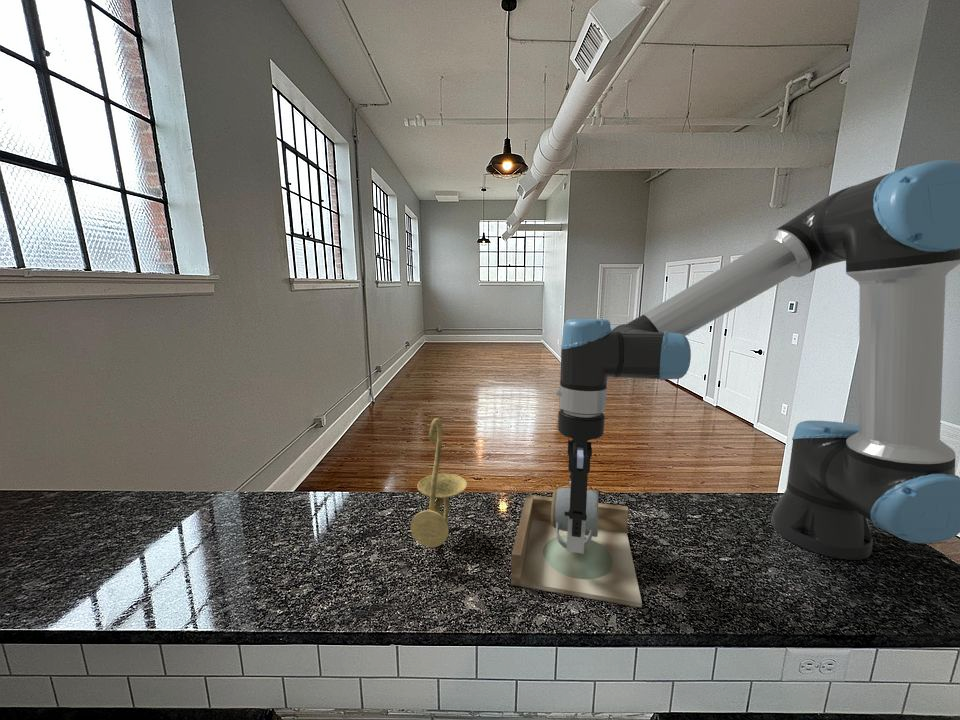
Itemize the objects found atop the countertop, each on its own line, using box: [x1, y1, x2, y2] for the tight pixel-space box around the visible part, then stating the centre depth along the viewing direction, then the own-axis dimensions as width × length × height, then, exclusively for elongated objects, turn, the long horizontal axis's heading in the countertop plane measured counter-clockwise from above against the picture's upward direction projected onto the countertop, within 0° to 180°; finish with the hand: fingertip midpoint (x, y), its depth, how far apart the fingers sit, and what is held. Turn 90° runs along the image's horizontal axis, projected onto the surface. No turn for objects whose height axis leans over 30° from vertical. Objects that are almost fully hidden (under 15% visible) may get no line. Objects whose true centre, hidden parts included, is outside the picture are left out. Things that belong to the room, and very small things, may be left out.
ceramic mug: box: [551, 487, 599, 549], centre depth 69 cm, size 11×8×8 cm
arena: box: [510, 493, 643, 608], centre depth 71 cm, size 20×20×6 cm
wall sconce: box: [410, 417, 468, 548], centre depth 74 cm, size 14×10×25 cm
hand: (575, 531), depth 70 cm, fingers closed on ceramic mug, 10 cm apart
